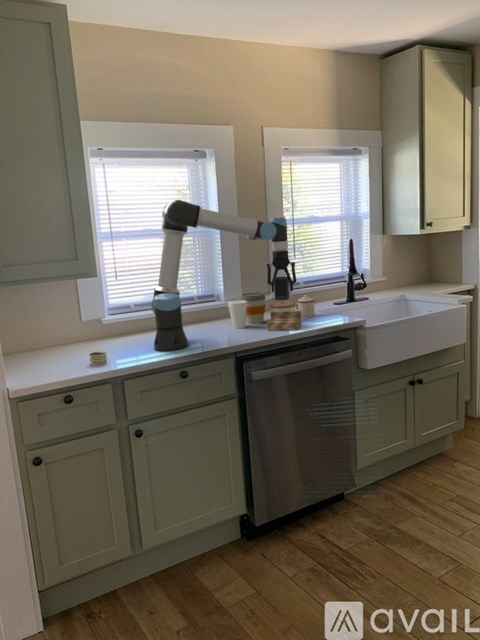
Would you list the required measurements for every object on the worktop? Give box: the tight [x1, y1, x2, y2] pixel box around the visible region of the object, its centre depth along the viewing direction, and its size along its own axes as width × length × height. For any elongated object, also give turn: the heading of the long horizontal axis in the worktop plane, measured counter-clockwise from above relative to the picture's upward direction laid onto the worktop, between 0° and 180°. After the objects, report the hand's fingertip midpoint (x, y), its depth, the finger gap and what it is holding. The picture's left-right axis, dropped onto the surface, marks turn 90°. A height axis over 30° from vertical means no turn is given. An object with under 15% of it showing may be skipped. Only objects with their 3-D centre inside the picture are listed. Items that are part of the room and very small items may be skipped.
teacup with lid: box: [295, 294, 316, 319], centre depth 293 cm, size 12×9×12 cm
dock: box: [266, 310, 302, 332], centre depth 265 cm, size 15×13×7 cm
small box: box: [274, 275, 290, 301], centre depth 261 cm, size 11×6×10 cm, turn 169°
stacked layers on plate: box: [88, 348, 108, 365], centre depth 220 cm, size 10×9×6 cm
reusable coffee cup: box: [241, 292, 266, 325], centre depth 285 cm, size 13×13×15 cm
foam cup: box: [227, 300, 247, 329], centre depth 274 cm, size 10×9×13 cm
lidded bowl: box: [270, 300, 296, 313], centre depth 283 cm, size 13×13×11 cm
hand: (282, 298), depth 262 cm, fingers closed on small box, 6 cm apart
